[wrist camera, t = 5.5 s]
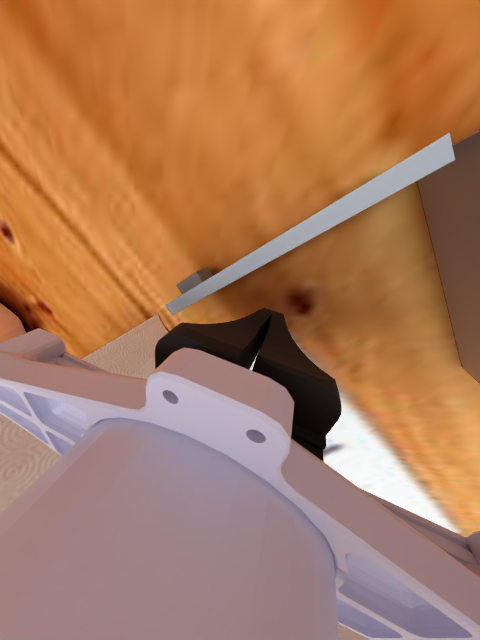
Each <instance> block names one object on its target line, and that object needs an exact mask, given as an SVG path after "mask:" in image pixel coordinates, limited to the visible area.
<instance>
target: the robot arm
mask: <svg viewBox="0 0 480 640" xmlns="http://www.w3.org/2000/svg"><path fill="white" fill-rule="evenodd" d="M259 350H260V351H259ZM258 352H259V353H258ZM257 354H258V355H257ZM256 356H257V358H256ZM255 358H256V361H255V364H254V367H253V370H252V371H251V370H249V369H250V367H251V365H252V363H253V361H254V360H255ZM0 414H2V415H4V416H5V417H7V418H8V419H10V420H11V421H13V422H14V423H16V424H17V425H19V426H20V427H22V428H23V429H25V430H26V431H27V432H29V433H30V434H32V435H33V436H34V437H36V438H37V439H39V440H40V441H41V442H43V443H44V444H45V445H47V446H48V447H50V448H51V449H52V450H54V451H55V452H56V453H58V454H59V455H61V457H60V458H59V459H58V460H57V461H56V462H55V463H54V464H53V465H52V466H51V467H49V468H48V469H47V470H46V471H45V472H44V473H43V474H42V475H41V476H40V477H39V478H38V479H37V480H36V481H35V482H33V483H32V484H31V485H30V486H29V487H28V488H27V489H26V490H25V491H24V492H23V493H22V494H21V495H20V496H19V497H17V498H16V499H15V500H14V501H13V502H12V503H11V504H10V505H9V506H8V507H7V508H6V509H5V510H4V511H2V512H1V513H0V640H339V629H338V624H340V625H342V626H344V627H346V628H348V629H350V630H352V631H354V632H356V633H358V634H360V635H362V636H364V637H366V638H368V639H370V640H480V531H476V532H473V533H471V534H469V535H467V537H466V538H465V537H463V536H461V535H459V534H457V533H455V532H452V531H450V530H448V529H446V528H444V527H442V526H439V525H437V524H435V523H433V522H431V521H429V520H427V519H424V518H422V517H420V516H418V515H416V514H414V513H411V512H409V511H407V510H405V509H403V508H401V507H399V506H396V505H394V504H392V503H390V502H388V501H386V500H383V499H381V498H379V497H377V496H375V495H373V494H371V493H368V492H366V491H364V490H362V489H360V488H358V487H357V486H355V485H354V484H353V483H351V482H350V481H349V480H347V479H346V478H344V477H343V476H342V475H340V474H339V473H338V472H336V471H335V470H334V469H332V468H331V467H329V466H328V465H327V464H325V463H324V462H323V450H324V449H325V447H326V437H325V436H326V435H327V433H328V432H329V431H330V430H331V428H332V427H333V426H334V424H335V423H336V422H337V421H338V419H339V417H340V415H341V401H340V396H339V392H338V388H337V385H336V381H335V379H333V378H332V377H331V376H329V375H328V374H326V373H325V372H324V371H322V370H321V369H320V368H318V367H317V366H316V365H315V364H314V363H313V362H312V361H310V360H309V359H308V358H307V357H306V355H305V354H304V353H303V352H302V351H301V350H300V349H299V347H298V346H297V345H296V343H295V342H294V340H293V339H292V337H291V335H290V333H289V331H288V328H287V326H286V323H285V319H284V315H283V314H281V313H278V312H275V311H272V310H269V309H266V308H263V309H261V310H259V311H257V312H255V313H253V314H251V315H249V316H246V317H244V318H241V319H238V320H235V321H230V322H225V323H217V324H192V323H180V324H179V325H178V326H176V327H175V328H173V329H172V330H171V331H170V332H168V333H167V334H166V335H165V336H163V337H162V338H161V339H160V340H158V342H157V344H156V346H155V370H154V371H153V372H152V373H151V374H150V375H149V376H148V379H144V378H137V377H131V376H125V375H118V374H112V373H110V372H108V371H106V370H103V369H101V368H99V367H97V366H95V365H93V364H91V363H88V362H86V361H84V360H82V359H80V358H78V357H75V356H73V355H71V354H69V353H67V352H66V348H65V344H64V342H63V341H62V340H61V338H59V337H58V336H56V335H54V334H52V333H50V332H47V331H45V330H43V329H40V328H38V329H35V330H33V331H30V332H28V333H25V334H22V335H20V336H17V337H15V338H12V339H9V340H7V341H4V342H2V343H0Z"/></svg>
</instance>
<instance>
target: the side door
mask: <svg viewBox="0 0 480 640" xmlns="http://www.w3.org/2000/svg"><path fill="white" fill-rule="evenodd" d="M454 160H455V156H454V152H453V147H452V142H451V137H450V133H448V134H446V135H445V136H443V137H441V138H440V139H438V140H436V141H435V142H433V143H432V144H430V145H428V146H427V147H425V148H423V149H422V150H420V151H418V152H417V153H415V154H413V155H412V156H410V157H408V158H407V159H405V160H403V161H402V162H400V163H399V164H397V165H395V166H394V167H392V168H390V169H389V170H387V171H385V172H384V173H382V174H380V175H379V176H377V177H375V178H374V179H372V180H370V181H369V182H367V183H366V184H364V185H362V186H361V187H359V188H357V189H356V190H354V191H352V192H351V193H349V194H347V195H346V196H344V197H342V198H341V199H339V200H338V201H336V202H334V203H333V204H331V205H329V206H328V207H326V208H324V209H323V210H321V211H319V212H318V213H316V214H314V215H313V216H311V217H309V218H308V219H306V220H305V221H303V222H301V223H300V224H298V225H296V226H295V227H293V228H291V229H290V230H288V231H286V232H285V233H283V234H281V235H280V236H278V237H276V238H275V239H273V240H272V241H270V242H268V243H267V244H265V245H263V246H262V247H260V248H258V249H257V250H255V251H253V252H252V253H250V254H248V255H247V256H245V257H243V258H242V259H240V260H239V261H237V262H235V263H234V264H232V265H230V266H229V267H227V268H225V269H224V270H222V271H220V272H219V273H217V274H215V275H214V276H213V275H212V274H211V272H210V270H209V269H208V267H206V268H204V269H202V270H199V271H197V272H195V273H194V274H192V275H191V276H189V277H188V278H186V279H185V280H183V281H181V282H180V283H178V284H177V285H176V286H177V287H178V289H179V290H180V292H181V293H182V295H181V296H179V297H178V298H176V299H174V300H173V301H171V302H169V303H168V304H166V305H165V306H166V307H167V309H168V310H169V312H170V313H171V315H174V314H175V313H177V312H179V311H181V310H183V309H184V308H186V307H188V306H190V305H192V304H194V303H195V302H197V301H199V300H201V299H203V298H205V297H206V296H208V295H210V294H212V293H214V292H215V291H217V290H219V289H221V288H223V287H225V286H226V285H228V284H230V283H232V282H234V281H235V280H237V279H239V278H241V277H243V276H245V275H246V274H248V273H250V272H252V271H254V270H255V269H257V268H259V267H261V266H263V265H265V264H266V263H268V262H270V261H272V260H274V259H275V258H277V257H279V256H281V255H283V254H285V253H286V252H288V251H290V250H292V249H294V248H295V247H297V246H299V245H301V244H303V243H305V242H306V241H308V240H310V239H312V238H314V237H315V236H317V235H319V234H321V233H323V232H325V231H326V230H328V229H330V228H332V227H334V226H335V225H337V224H339V223H341V222H343V221H345V220H346V219H348V218H350V217H352V216H354V215H355V214H357V213H359V212H361V211H363V210H365V209H366V208H368V207H370V206H372V205H374V204H375V203H377V202H379V201H381V200H383V199H385V198H386V197H388V196H390V195H392V194H394V193H395V192H397V191H399V190H401V189H403V188H405V187H406V186H408V185H410V184H412V183H414V182H415V181H417V180H419V179H421V178H423V177H425V176H426V175H428V174H430V173H432V172H434V171H435V170H437V169H439V168H441V167H443V166H445V165H446V164H448V163H450V162H452V161H454Z"/></svg>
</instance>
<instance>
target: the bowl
mask: <svg viewBox="0 0 480 640" xmlns="http://www.w3.org/2000/svg"><path fill="white" fill-rule="evenodd" d="M25 333H26V332H25V329H24V327H23V325H22V323H21V321H20V319H19V318H18V317H17V316H16V315H15V314H14V313H13V312H11V311H10V310H9V309H7V308H6V307H5V306H4V305H2V304H1V303H0V343H2V342H4V341H7V340H9V339H12V338H15V337H17V336H20V335H22V334H25Z"/></svg>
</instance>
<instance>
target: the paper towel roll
mask: <svg viewBox="0 0 480 640" xmlns="http://www.w3.org/2000/svg"><path fill="white" fill-rule="evenodd" d="M167 333H168V331H167V330H166V328H165V327H164V325H163V324H162V322H161V321H160V318H159V316H158V314H156V315H155V316H153V317H151V318H150V319H148V320H146V321H145V322H143V323H141V324H140V325H138V326H136V327H134V328H133V329H131V330H129V331H128V332H126V333H124V334H123V335H121V336H119V337H118V338H116V339H114V340H113V341H111V342H109V343H107V344H106V345H104V346H102V347H101V348H99V349H97V350H96V351H94V352H92V353H91V354H89V355H87V356H86V357H84V358H82V360H84V361H86V362H88V363H91V364H93V365H95V366H97V367H99V368H101V369H103V370H106V371H108V372H110V373H112V374H118V375H125V376H131V377H137V378H144V379H148V376H149V375H150V374H151V373H152V372H153V371H154V370H155V346H156V344H157V342H158V340H160V339H161V338H162V337H163V336H165V335H166V334H167ZM60 457H61V455H59V454H58V453H56V452H55V451H54V450H52V449H51V448H50V447H48V446H47V445H45V444H44V443H43V442H41V441H40V440H39V439H37V438H36V437H34V436H33V435H32V434H30V433H29V432H27V431H26V430H25V429H23V428H22V427H20V426H19V425H17V424H16V423H14V422H13V421H11V420H10V419H8V418H7V417H5V416H4V415H2V414H0V513H1V512H2V511H4V510H5V509H6V508H7V507H8V506H9V505H10V504H11V503H12V502H13V501H14V500H15V499H16V498H17V497H19V496H20V495H21V494H22V493H23V492H24V491H25V490H26V489H27V488H28V487H29V486H30V485H31V484H32V483H33V482H35V481H36V480H37V479H38V478H39V477H40V476H41V475H42V474H43V473H44V472H45V471H46V470H47V469H48V468H49V467H51V466H52V465H53V464H54V463H55V462H56V461H57V460H58V459H59V458H60Z"/></svg>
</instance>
